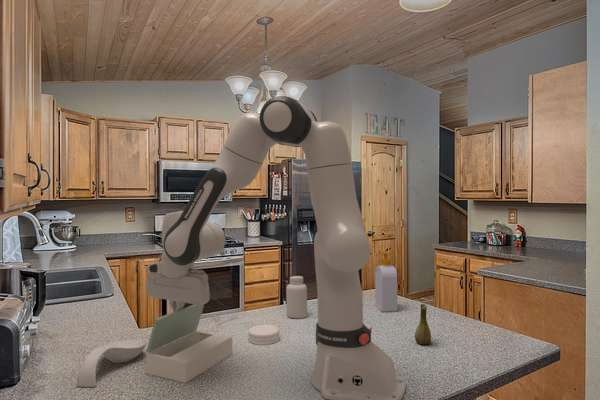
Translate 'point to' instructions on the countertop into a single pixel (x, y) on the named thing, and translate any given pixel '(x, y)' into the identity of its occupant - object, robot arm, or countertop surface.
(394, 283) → the soap bottle
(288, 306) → the pill bottle
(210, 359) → the beige rectangular box
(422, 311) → the olive green bottle shape
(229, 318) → the scissors
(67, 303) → the countertop surface
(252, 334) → the beige short cylinder
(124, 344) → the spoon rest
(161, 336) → the cover
